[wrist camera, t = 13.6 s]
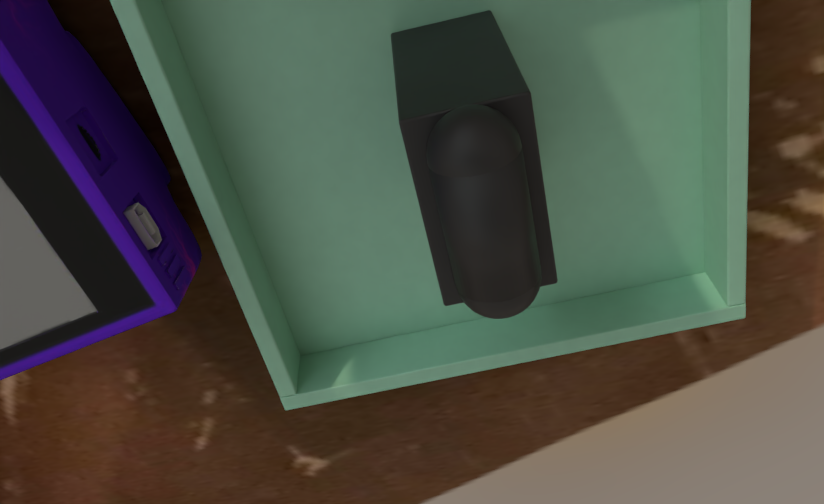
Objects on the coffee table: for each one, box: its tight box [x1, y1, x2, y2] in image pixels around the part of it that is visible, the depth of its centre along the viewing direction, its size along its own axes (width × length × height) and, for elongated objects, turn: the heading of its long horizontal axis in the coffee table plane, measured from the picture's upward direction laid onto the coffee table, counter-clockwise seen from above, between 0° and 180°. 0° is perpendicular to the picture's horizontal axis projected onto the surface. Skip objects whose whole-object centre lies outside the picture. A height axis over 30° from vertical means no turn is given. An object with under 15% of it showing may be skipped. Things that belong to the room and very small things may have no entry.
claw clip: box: [391, 10, 558, 319], centre depth 19 cm, size 5×3×7 cm, turn 12°
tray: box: [110, 0, 751, 410], centre depth 22 cm, size 17×15×3 cm
